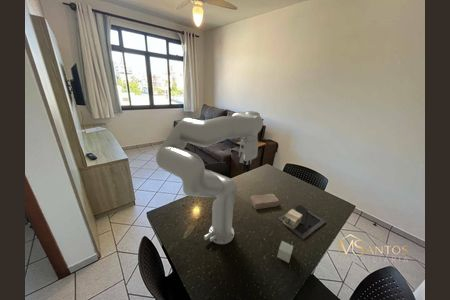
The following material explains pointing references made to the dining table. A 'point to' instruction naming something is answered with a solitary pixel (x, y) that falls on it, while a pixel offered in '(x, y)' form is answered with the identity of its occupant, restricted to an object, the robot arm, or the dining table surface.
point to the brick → (264, 201)
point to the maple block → (292, 218)
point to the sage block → (285, 251)
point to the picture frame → (305, 222)
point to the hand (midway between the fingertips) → (246, 170)
